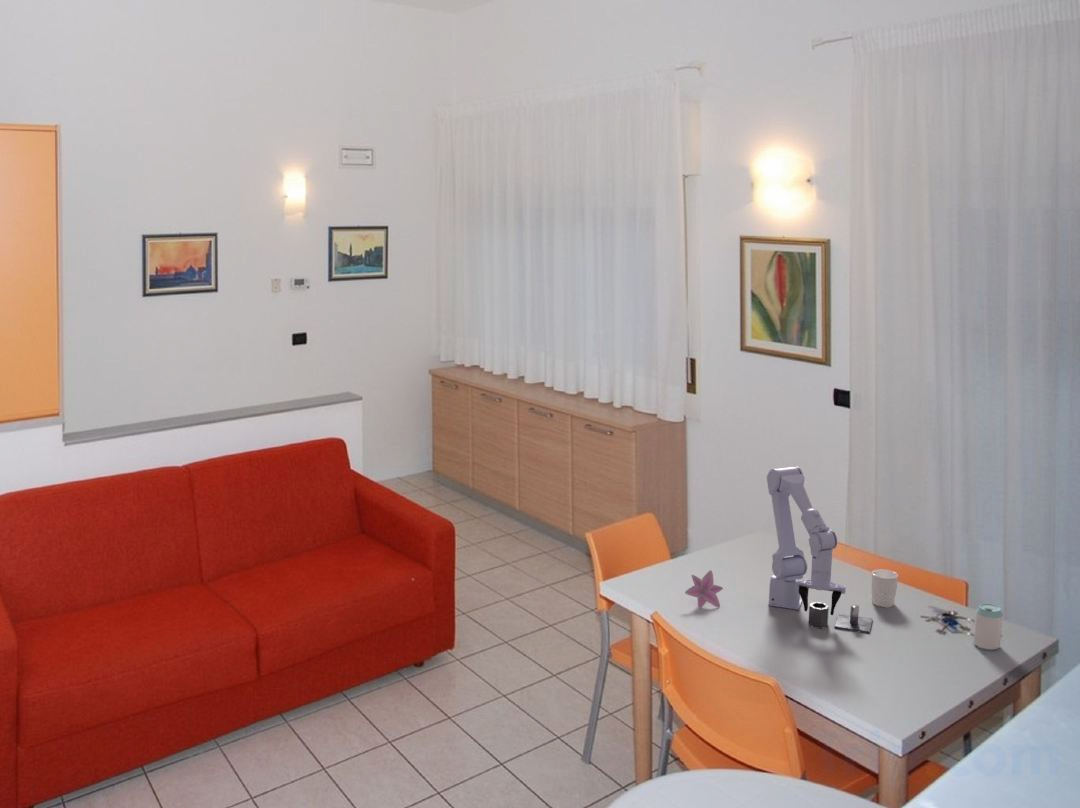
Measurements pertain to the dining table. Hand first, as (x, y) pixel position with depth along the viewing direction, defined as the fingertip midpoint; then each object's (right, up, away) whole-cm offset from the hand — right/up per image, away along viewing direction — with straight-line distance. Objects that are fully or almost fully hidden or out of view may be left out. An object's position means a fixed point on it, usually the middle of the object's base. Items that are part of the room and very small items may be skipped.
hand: (819, 612), depth 305 cm
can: (+45, -7, -14) cm, 47 cm away
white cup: (+25, -1, +16) cm, 30 cm away
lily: (-32, -1, +16) cm, 36 cm away
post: (+11, -4, +1) cm, 11 cm away
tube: (0, -4, +1) cm, 4 cm away
